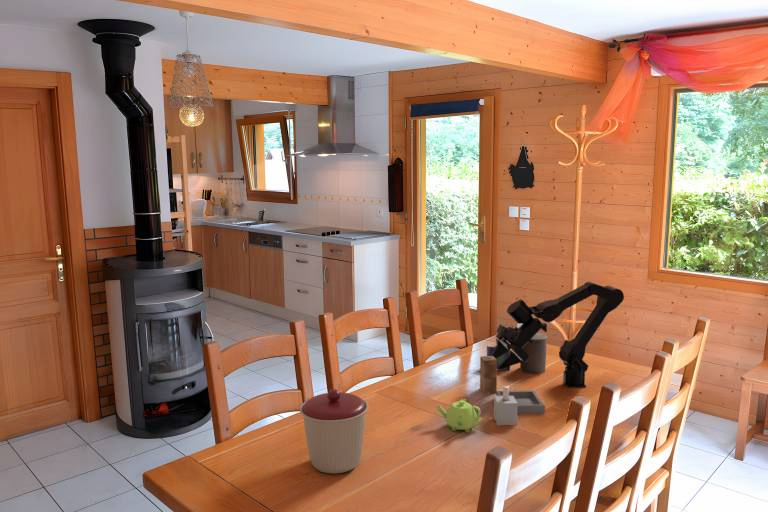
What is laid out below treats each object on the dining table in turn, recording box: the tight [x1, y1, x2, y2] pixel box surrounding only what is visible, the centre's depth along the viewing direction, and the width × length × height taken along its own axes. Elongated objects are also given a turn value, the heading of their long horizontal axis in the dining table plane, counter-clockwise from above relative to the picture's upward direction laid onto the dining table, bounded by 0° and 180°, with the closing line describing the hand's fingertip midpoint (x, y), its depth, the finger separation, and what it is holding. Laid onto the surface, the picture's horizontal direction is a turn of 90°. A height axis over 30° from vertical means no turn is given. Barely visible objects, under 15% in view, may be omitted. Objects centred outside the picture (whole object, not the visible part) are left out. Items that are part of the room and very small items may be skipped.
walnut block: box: [479, 355, 498, 395], centre depth 215 cm, size 4×4×12 cm
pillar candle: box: [519, 332, 548, 375], centre depth 236 cm, size 10×10×15 cm
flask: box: [486, 343, 511, 372], centre depth 238 cm, size 9×3×11 cm, turn 65°
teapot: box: [436, 398, 483, 433], centre depth 186 cm, size 11×12×8 cm
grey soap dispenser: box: [493, 385, 518, 426], centre depth 190 cm, size 6×6×11 cm
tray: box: [495, 389, 545, 415], centre depth 202 cm, size 13×13×3 cm
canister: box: [299, 388, 369, 475], centre depth 164 cm, size 18×18×21 cm
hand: (495, 363), depth 215 cm, fingers open, 9 cm apart
